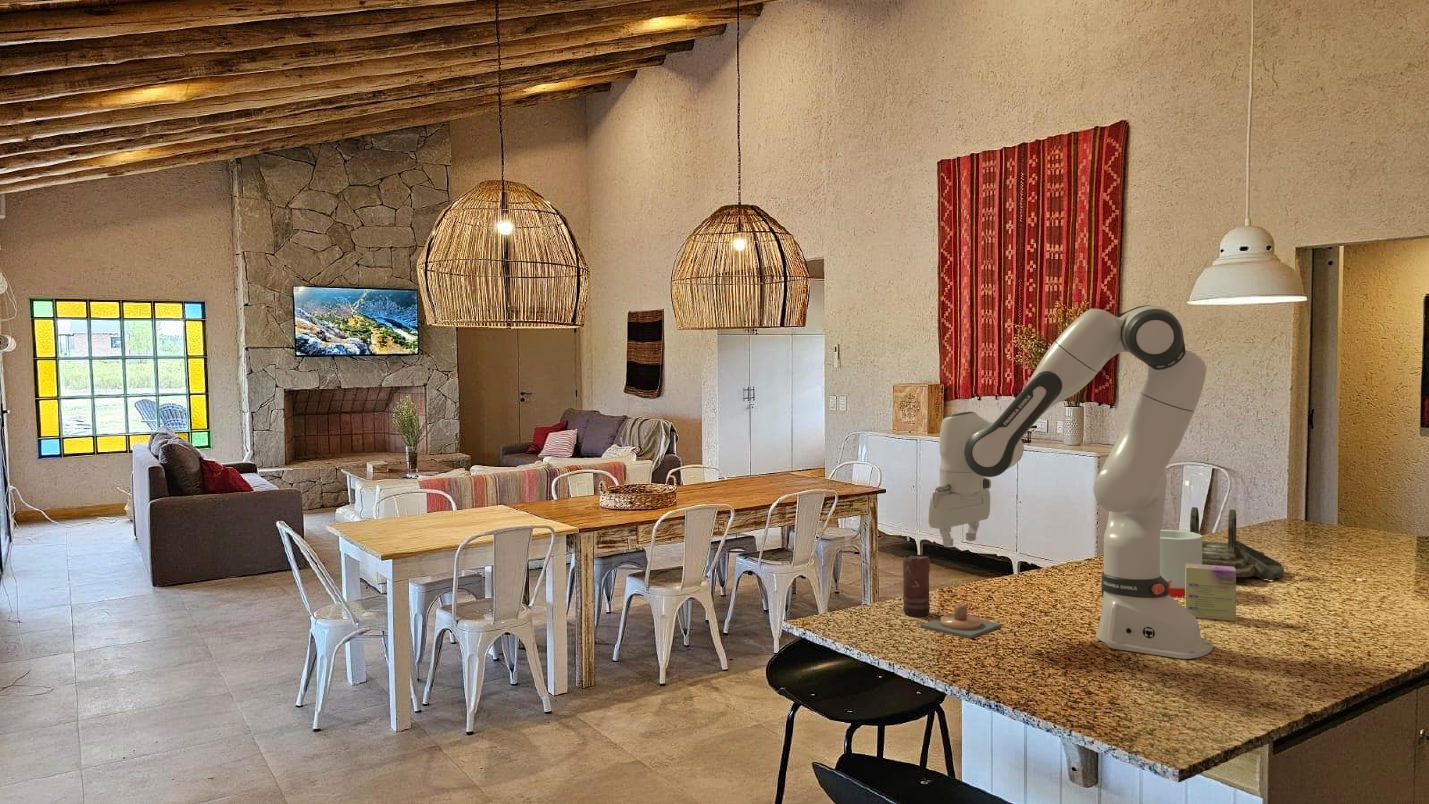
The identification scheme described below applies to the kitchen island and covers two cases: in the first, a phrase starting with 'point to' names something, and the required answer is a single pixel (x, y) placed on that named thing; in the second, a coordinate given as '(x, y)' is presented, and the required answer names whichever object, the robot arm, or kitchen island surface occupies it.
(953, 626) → the lid
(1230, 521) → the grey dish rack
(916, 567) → the can
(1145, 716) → the kitchen island surface
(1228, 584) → the box
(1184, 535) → the container
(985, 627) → the mat
